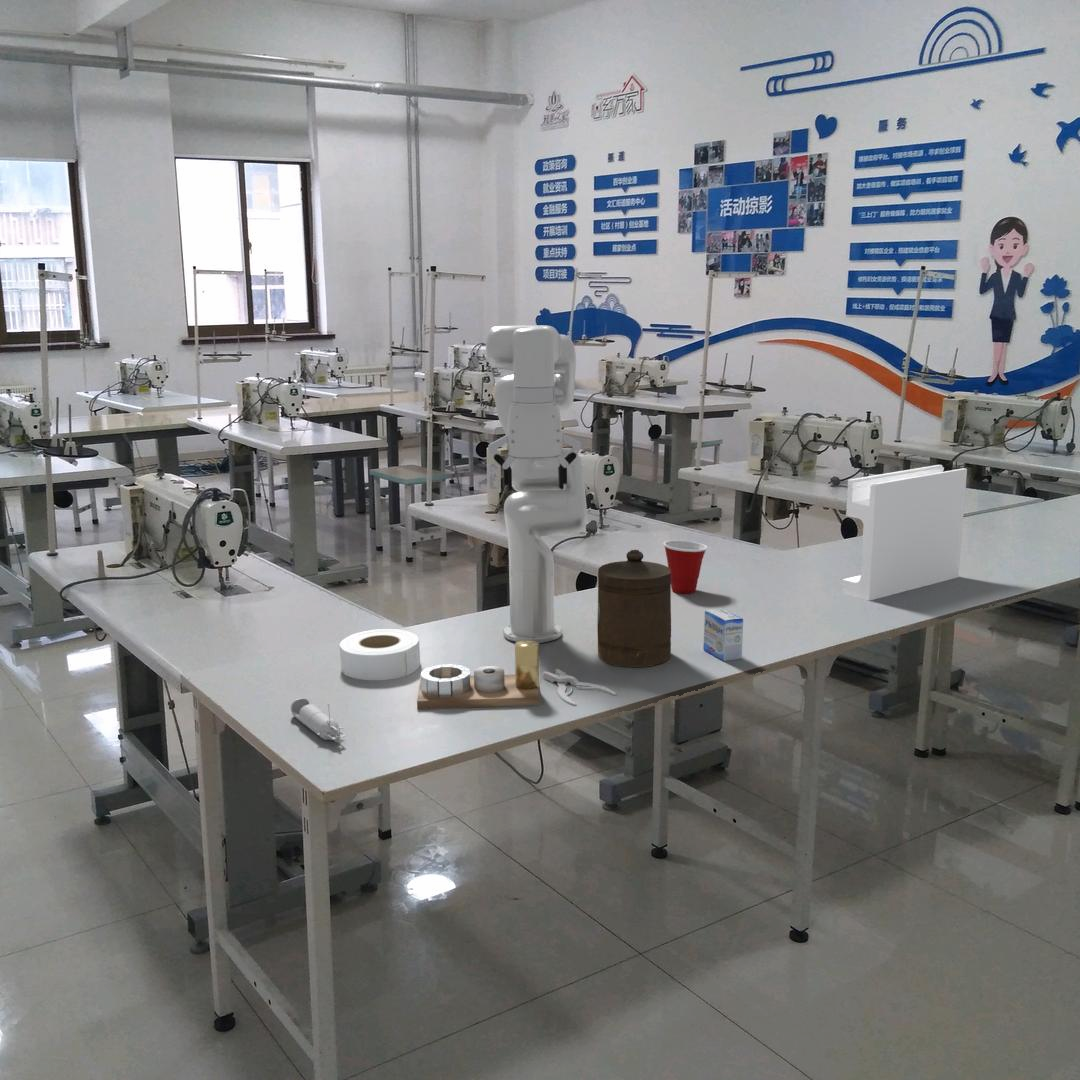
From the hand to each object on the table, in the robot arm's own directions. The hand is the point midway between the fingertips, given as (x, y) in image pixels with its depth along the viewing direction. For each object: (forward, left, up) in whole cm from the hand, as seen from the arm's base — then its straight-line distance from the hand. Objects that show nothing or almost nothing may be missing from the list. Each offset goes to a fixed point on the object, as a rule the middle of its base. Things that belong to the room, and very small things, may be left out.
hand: (535, 488), depth 199 cm
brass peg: (+10, -2, -35) cm, 37 cm away
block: (-55, +94, -37) cm, 115 cm away
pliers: (+8, +6, -37) cm, 39 cm away
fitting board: (+10, -11, -37) cm, 40 cm away
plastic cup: (-55, +39, -37) cm, 77 cm away
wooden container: (-9, +20, -37) cm, 43 cm away
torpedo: (+24, -39, -37) cm, 59 cm away
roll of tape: (-7, -31, -37) cm, 49 cm away
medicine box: (-8, +38, -37) cm, 54 cm away
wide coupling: (+10, -17, -35) cm, 40 cm away
